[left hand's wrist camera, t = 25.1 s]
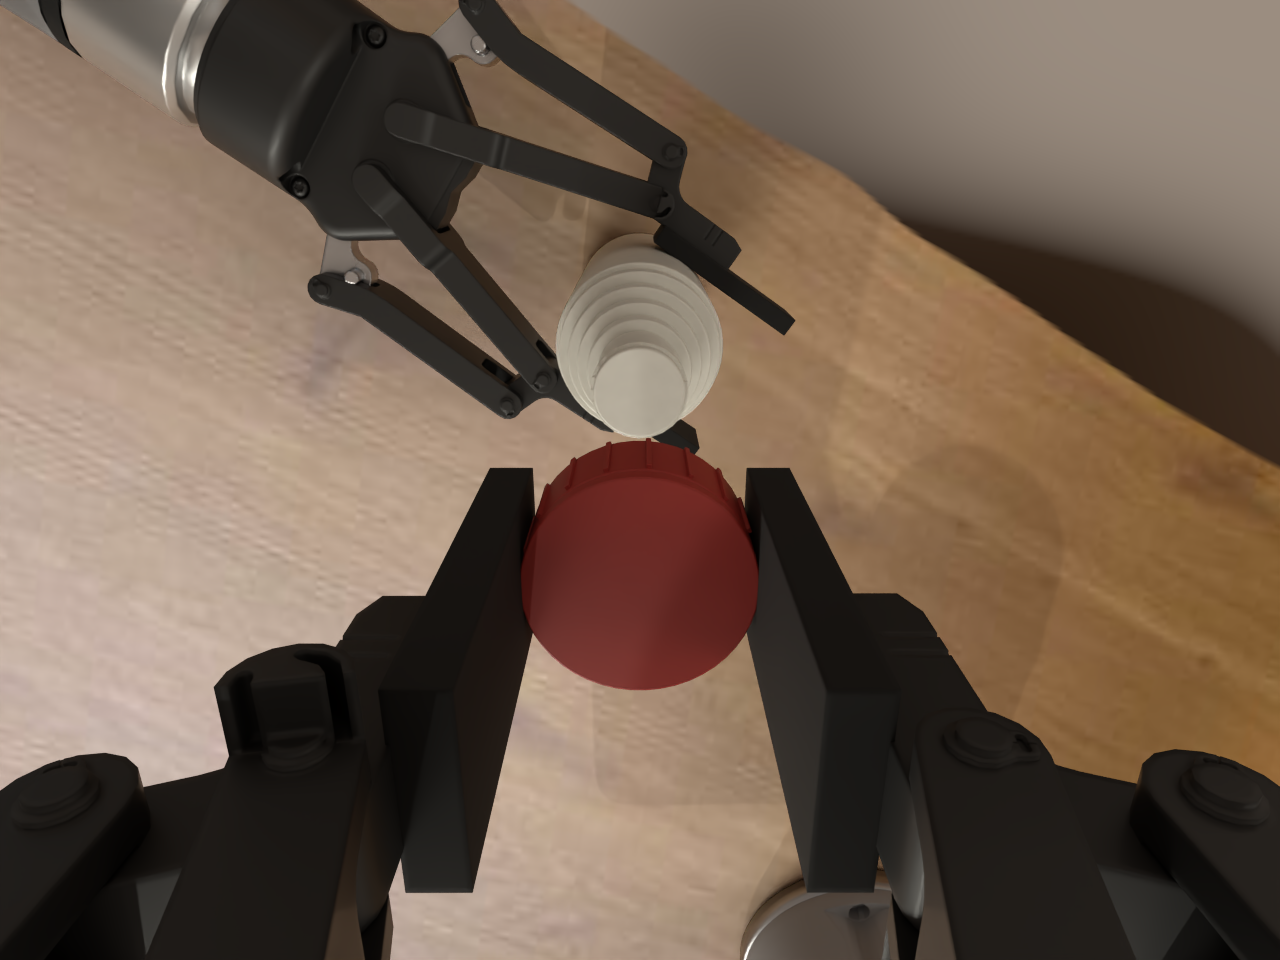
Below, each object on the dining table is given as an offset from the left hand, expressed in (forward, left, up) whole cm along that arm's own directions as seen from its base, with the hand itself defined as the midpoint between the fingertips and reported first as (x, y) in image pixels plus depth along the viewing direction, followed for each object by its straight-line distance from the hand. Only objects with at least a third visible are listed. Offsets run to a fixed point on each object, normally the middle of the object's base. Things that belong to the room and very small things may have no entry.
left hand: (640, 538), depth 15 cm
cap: (0, 0, +2) cm, 2 cm away
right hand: (-5, -1, -21) cm, 22 cm away
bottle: (0, 0, -28) cm, 28 cm away
